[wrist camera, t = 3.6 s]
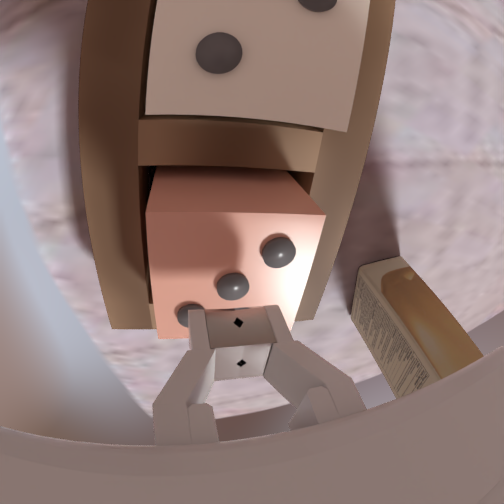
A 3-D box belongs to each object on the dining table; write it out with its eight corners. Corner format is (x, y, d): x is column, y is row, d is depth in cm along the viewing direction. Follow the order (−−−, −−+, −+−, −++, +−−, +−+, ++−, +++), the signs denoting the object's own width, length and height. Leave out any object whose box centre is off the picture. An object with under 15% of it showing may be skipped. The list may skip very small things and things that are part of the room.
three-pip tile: (283, 167, 14) (328, 218, 10) (265, 265, 17) (292, 334, 13) (157, 163, 13) (144, 215, 8) (160, 268, 16) (158, 342, 12)
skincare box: (387, 305, 26) (452, 407, 16) (348, 317, 25) (409, 432, 16) (402, 251, 22) (493, 363, 12) (358, 262, 22) (448, 394, 12)
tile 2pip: (312, -6, 9) (376, -31, 5) (293, 108, 12) (349, 133, 8) (176, -25, 8) (173, -75, 3) (160, 98, 11) (144, 115, 7)
